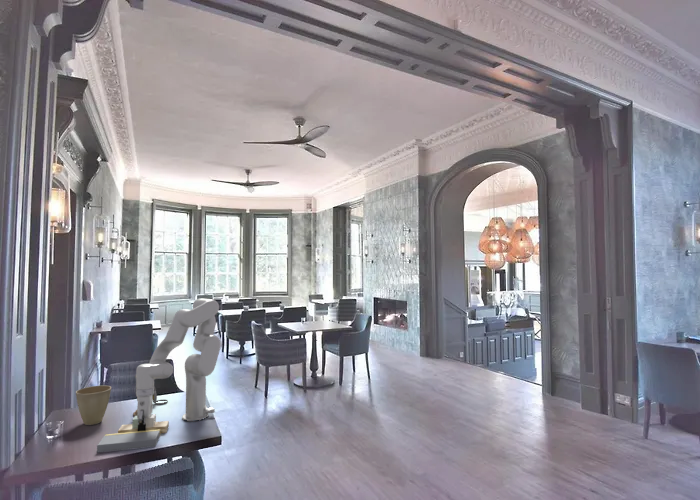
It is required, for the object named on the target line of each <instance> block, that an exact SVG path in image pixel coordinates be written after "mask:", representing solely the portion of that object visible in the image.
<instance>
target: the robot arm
mask: <svg viewBox="0 0 700 500" xmlns="http://www.w3.org/2000/svg"><path fill="white" fill-rule="evenodd" d="M219 309H220V304H219V302H218V301H216V300H215V299H210V298H201V297H200V298H197V299H195V300H194V301H193V303H192V309H186V308H182V309H179V310H177V311H176V312H175V314H174V316H173V319H172V320H171V324H170V326H169V327H168V331H167V333H166V335H165V337H164V339H163V340H161V341H160V342H159V344H158V345H157V347H156V348H155V349H154V351H153V353H152V355H151V358H150V359H149V363H142V364H139V365H138V366H137V367H136V369H135V370H136V373H135V376H136V378H135V397H138V401H137V406H136V407H137V408H136V410H137V418H138V419H139V420H138V431H146V424H145V421H146V418H149V417H150V415H151V414H153V404H154V403H153V399H152V395H153V394H154V387H155V380H158V379H159V380H160V379H161V380H163V379H168V378H170V376H172V374H173V373H174V367H173V365H172V364H171V363H170V362H168V361H166V360H167V358H168V356H169V354H170V353H171V352H172V351H173V350H174V349H175V348H178V347H179V346H181V345H182V344H183V343H184V341H185V338H186V336H187V333H188V331H189V329H190V328H194V327H197V328H196V329H197V330H196V332H195V336H194V338H193V339H194V340H193V343H192V346H193V349H194V350H195V351H197V352H200V354H199V353H194V354H191V355H189V356H188V357H187V358H186V359H185V362H184V372H185V413H184V414H183V415H181V416H182V417H181V419H182V420H183V421H184V420H187V421H186V422H194V421H193V420H199V421H202V420H201V419H203V418H205V419H207V418H208V417H209V414H214V413H216V412H215V408H213V407H209V408H208V407H207V405H206V402H207V401H206V400H207V399H206V398H207V395H206V394H207V378H206V377H208V376H210V375H211V374H212V373H214V370H215V368H216V366H217V362H218V358H219V354H220V352H221V351H220V350H221V345H222V343H221V340H220V338H219V337H218V336H217V335H215V329H216V322H217V321H216V315H217V314H218V312H219V311H220V310H219ZM206 417H207V418H206ZM142 419H144V421H143V420H142ZM203 420H204V419H203Z"/></svg>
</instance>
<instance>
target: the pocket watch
mask: <svg viewBox="0 0 700 500" xmlns="http://www.w3.org/2000/svg"><path fill="white" fill-rule="evenodd" d="M158 401H167V403H168V399H158V396H157V391H156V387H155V386H154V394H153V395H152V403H153V404H155V405H164V403H165V404H167V403H166V402H164V403H156V402H158Z"/></svg>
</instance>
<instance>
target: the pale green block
mask: <svg viewBox="0 0 700 500" xmlns="http://www.w3.org/2000/svg"><path fill="white" fill-rule="evenodd" d="M138 420H139V419H138V418H137V416H133V418H132V421H131V422H132V423H131V424H132V429H133V428H138ZM142 420H143V421H144V419H142Z"/></svg>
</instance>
